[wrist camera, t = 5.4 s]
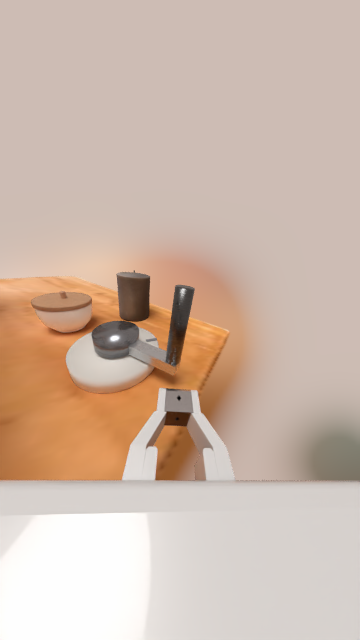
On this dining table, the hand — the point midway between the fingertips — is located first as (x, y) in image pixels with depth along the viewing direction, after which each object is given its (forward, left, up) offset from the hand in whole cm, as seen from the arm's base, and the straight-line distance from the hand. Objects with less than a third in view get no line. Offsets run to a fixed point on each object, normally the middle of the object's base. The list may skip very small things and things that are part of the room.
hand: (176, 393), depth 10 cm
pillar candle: (-37, +6, -11) cm, 39 cm away
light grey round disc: (-18, -2, -11) cm, 21 cm away
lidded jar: (-34, -11, -11) cm, 37 cm away
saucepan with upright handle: (-14, +1, -8) cm, 16 cm away
